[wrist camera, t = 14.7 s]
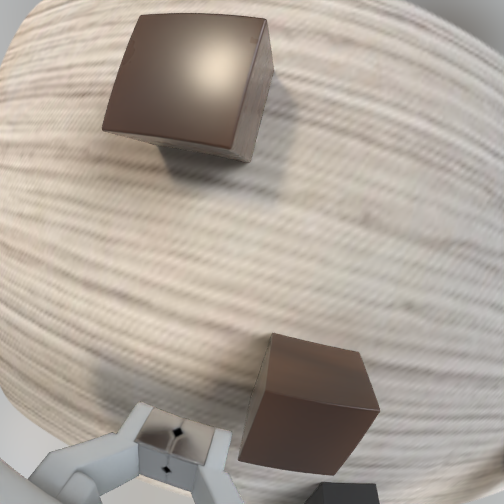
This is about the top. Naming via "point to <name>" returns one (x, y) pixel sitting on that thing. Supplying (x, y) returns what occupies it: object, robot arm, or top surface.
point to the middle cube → (307, 407)
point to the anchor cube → (344, 494)
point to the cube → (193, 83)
